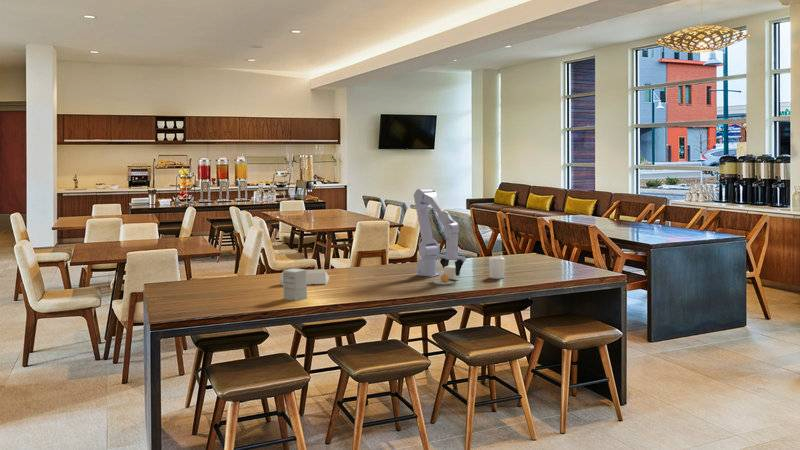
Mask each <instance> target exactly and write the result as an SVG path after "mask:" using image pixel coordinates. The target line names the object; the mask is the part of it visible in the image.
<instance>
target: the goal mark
mask: <svg viewBox="0 0 800 450" xmlns="http://www.w3.org/2000/svg"><path fill="white" fill-rule="evenodd" d="M454 283H455V281H454V280H451V279H448V281H447V282H442V281H441V279H440V280H433V284H437V285H452V284H454Z"/></svg>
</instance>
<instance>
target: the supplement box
mask: <svg viewBox="0 0 800 450" xmlns="http://www.w3.org/2000/svg"><path fill="white" fill-rule="evenodd" d="M306 270H307V269H304V268H303V269H301V268H297V267H296V268H293V267H292V268H289V269H284V270H282V272H283V288H282V289H283V300H286V301H287V300H289V301H294V302H296V301H297V302H298V301H299V300H303V299H308V291H307V290H308V289H307V286H308V285H307V284H306Z"/></svg>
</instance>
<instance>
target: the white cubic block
mask: <svg viewBox="0 0 800 450" xmlns="http://www.w3.org/2000/svg"><path fill="white" fill-rule="evenodd" d="M443 275H447V276H448V278H449V279H448V280H456V279H459V278H461V272H460V273H459V275H458V276H457V275H456V267H455V264H453V265H452V264H448V266H445V267H444V269H443Z"/></svg>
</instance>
